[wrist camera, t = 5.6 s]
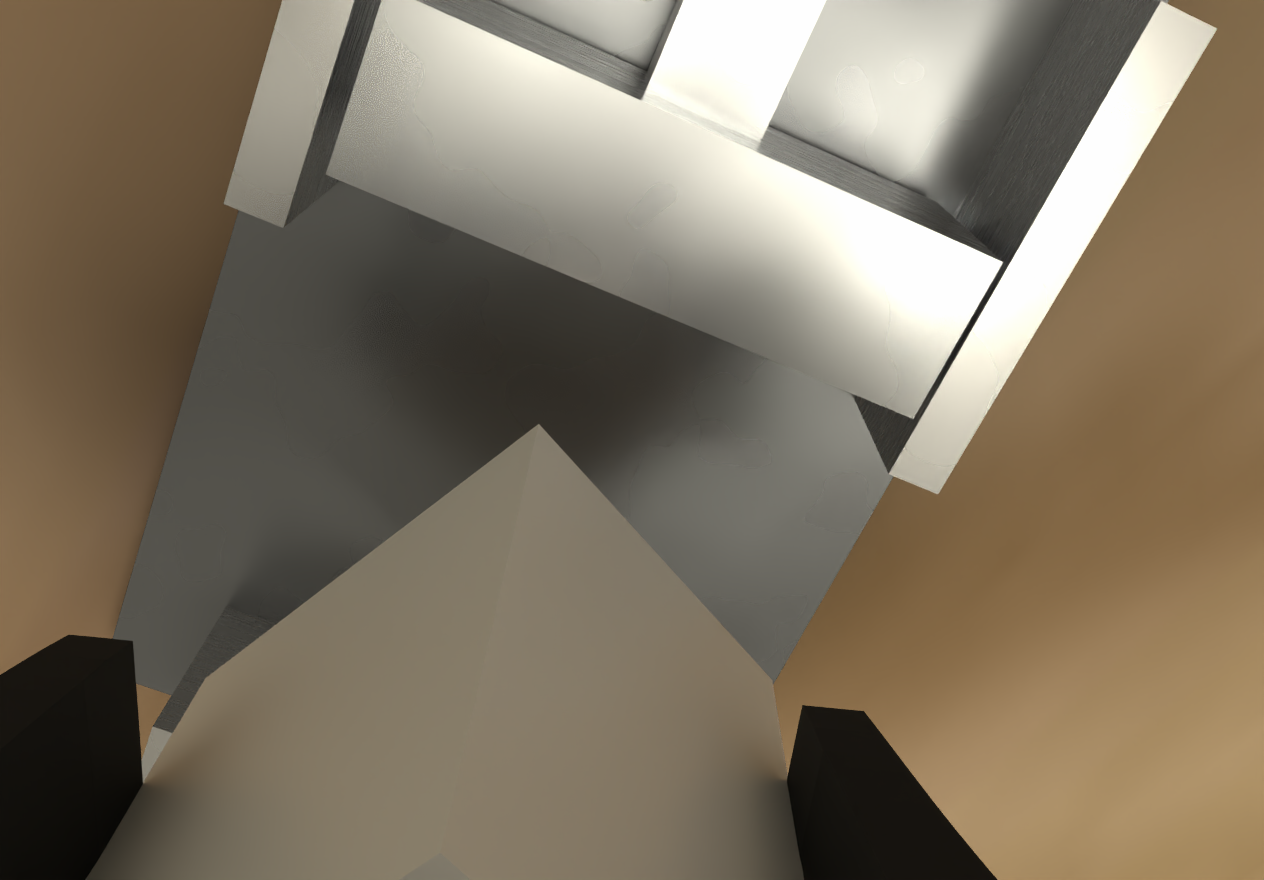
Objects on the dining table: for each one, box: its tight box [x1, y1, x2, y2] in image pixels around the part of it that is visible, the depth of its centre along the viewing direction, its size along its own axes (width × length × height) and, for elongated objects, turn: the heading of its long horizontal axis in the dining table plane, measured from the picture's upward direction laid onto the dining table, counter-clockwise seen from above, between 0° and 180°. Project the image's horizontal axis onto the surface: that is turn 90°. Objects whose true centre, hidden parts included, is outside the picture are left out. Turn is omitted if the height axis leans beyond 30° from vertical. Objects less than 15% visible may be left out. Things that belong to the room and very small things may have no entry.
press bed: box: [113, 0, 1217, 782], centre depth 16 cm, size 10×16×4 cm, turn 157°
